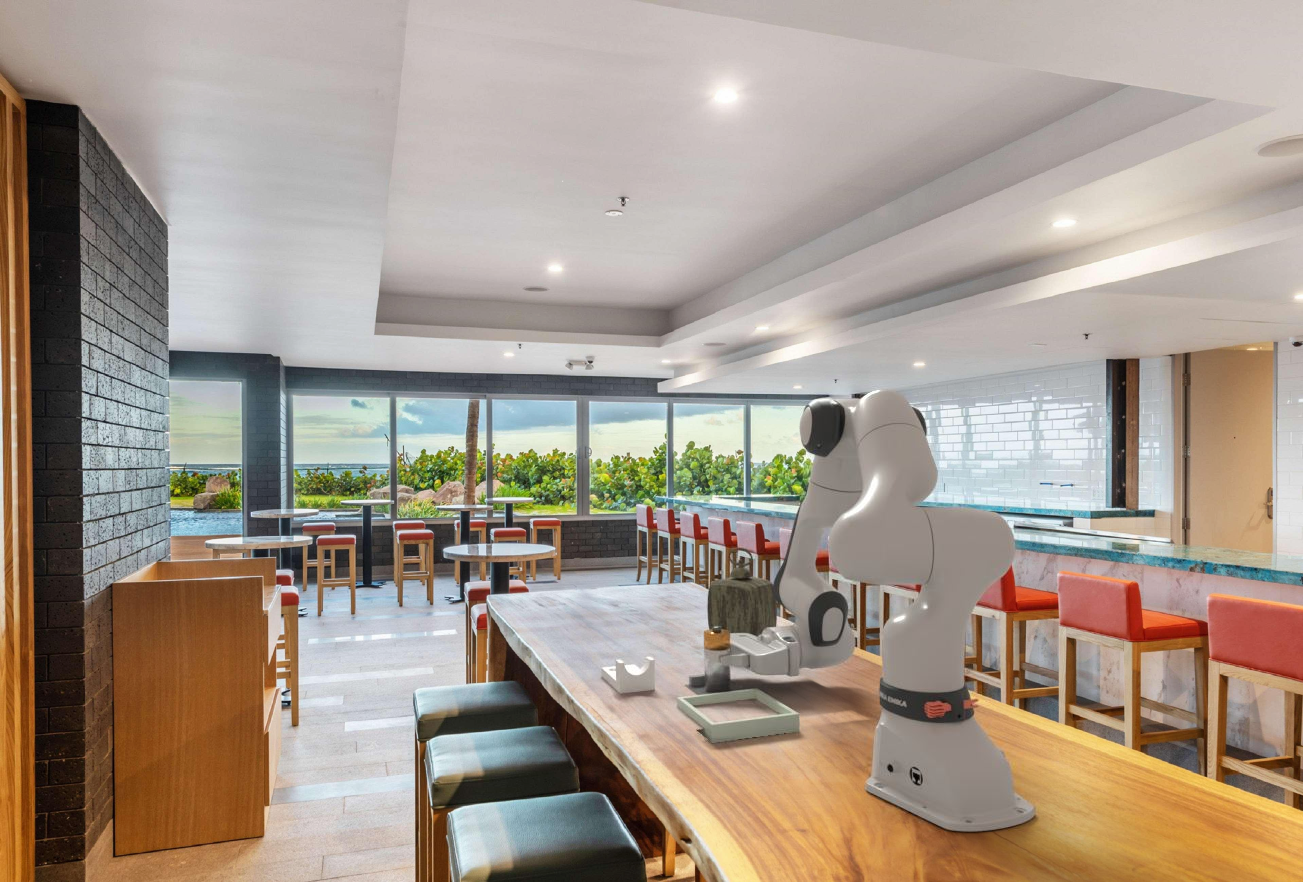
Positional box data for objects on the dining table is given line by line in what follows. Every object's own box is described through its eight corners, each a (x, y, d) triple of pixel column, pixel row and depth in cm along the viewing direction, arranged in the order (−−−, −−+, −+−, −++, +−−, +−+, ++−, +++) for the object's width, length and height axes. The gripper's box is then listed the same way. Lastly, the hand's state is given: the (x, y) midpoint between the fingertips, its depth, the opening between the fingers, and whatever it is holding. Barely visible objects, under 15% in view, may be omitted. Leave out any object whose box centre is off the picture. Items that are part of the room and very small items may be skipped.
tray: (799, 731, 137) (799, 713, 137) (712, 743, 132) (711, 724, 132) (757, 704, 152) (757, 688, 152) (677, 714, 147) (677, 697, 147)
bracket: (655, 698, 158) (654, 659, 158) (620, 702, 155) (619, 663, 155) (634, 681, 170) (634, 645, 170) (601, 685, 167) (601, 648, 168)
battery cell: (735, 691, 156) (734, 628, 156) (710, 694, 154) (709, 630, 154) (724, 684, 160) (723, 623, 161) (700, 687, 159) (699, 625, 159)
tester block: (752, 701, 154) (752, 684, 154) (703, 707, 151) (703, 689, 151) (730, 687, 164) (730, 671, 164) (684, 692, 160) (684, 676, 160)
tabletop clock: (777, 656, 188) (776, 548, 188) (754, 664, 181) (752, 552, 182) (728, 647, 198) (726, 544, 198) (704, 654, 191) (703, 547, 192)
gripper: (753, 623, 171) (692, 628, 167) (802, 644, 152) (734, 650, 148) (754, 653, 171) (693, 659, 167) (802, 678, 152) (735, 685, 147)
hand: (713, 655), depth 157 cm, fingers open, 6 cm apart
